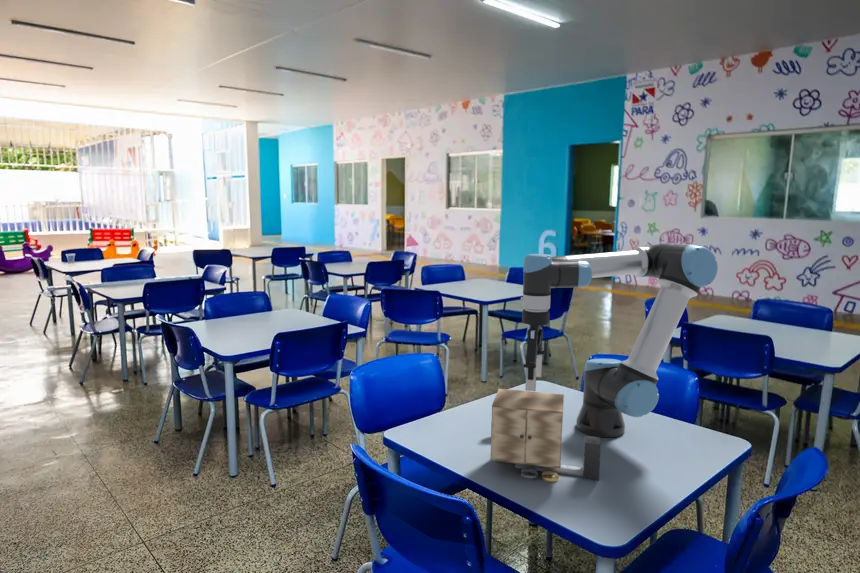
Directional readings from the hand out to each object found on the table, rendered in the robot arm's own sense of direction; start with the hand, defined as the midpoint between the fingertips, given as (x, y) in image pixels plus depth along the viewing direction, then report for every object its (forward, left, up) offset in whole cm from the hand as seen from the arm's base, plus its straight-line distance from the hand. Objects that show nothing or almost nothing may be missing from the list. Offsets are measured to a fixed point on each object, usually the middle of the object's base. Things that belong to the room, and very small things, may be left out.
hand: (533, 383), depth 159 cm
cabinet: (+1, +10, -22) cm, 24 cm away
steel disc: (0, +13, -22) cm, 25 cm away
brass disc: (-6, +13, -22) cm, 26 cm away
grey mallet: (-7, +8, -22) cm, 24 cm away
